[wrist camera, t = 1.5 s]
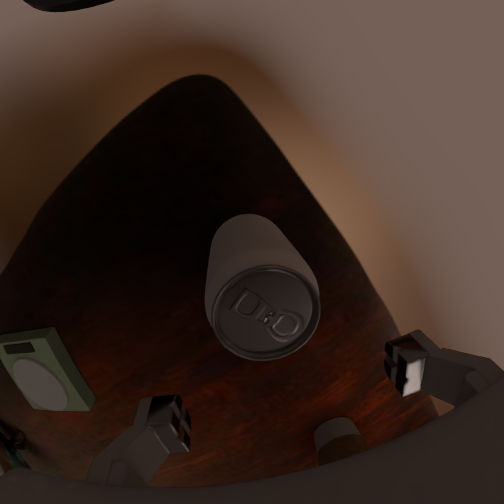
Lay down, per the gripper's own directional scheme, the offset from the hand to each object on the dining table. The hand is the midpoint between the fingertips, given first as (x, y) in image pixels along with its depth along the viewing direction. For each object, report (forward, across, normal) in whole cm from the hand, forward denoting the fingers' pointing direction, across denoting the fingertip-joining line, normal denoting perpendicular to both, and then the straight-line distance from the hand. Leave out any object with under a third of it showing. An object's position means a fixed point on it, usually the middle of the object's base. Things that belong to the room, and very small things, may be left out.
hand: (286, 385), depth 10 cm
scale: (+17, +28, +8) cm, 34 cm away
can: (+17, 0, 0) cm, 17 cm away
